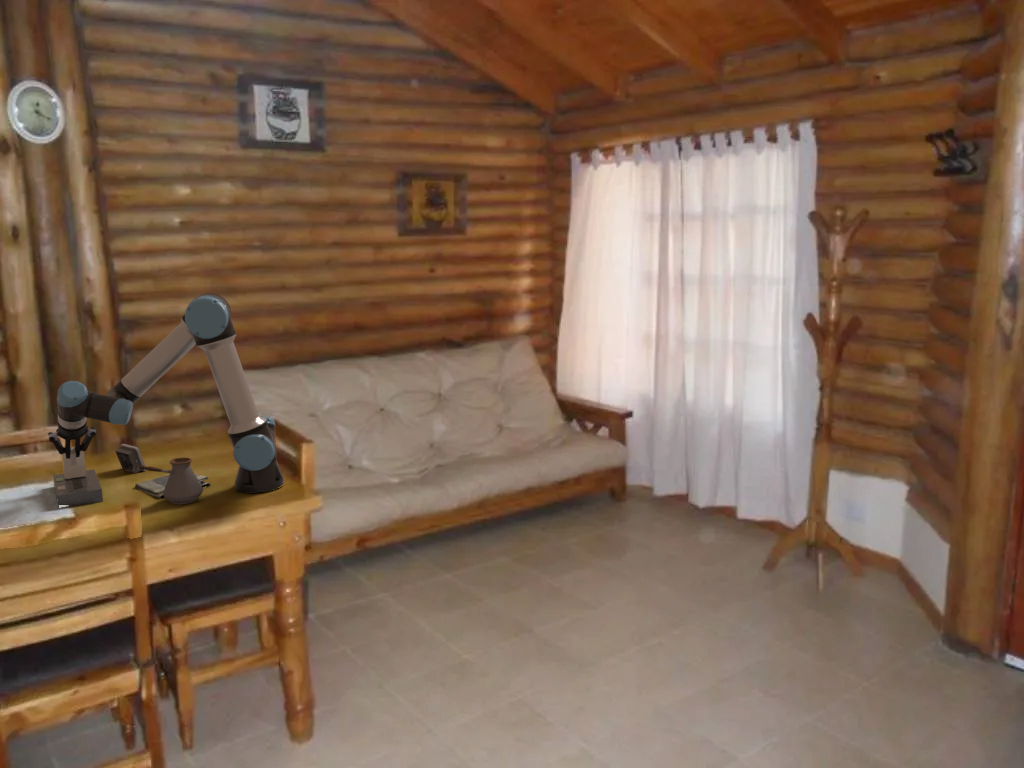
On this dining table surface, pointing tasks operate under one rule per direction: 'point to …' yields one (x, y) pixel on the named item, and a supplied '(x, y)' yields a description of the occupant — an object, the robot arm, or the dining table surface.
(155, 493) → the dish towel
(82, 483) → the box
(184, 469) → the coffee pot
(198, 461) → the dining table surface
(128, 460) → the electrical switch
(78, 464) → the handle
